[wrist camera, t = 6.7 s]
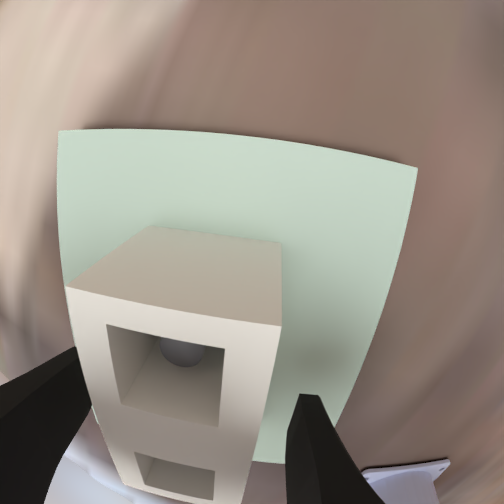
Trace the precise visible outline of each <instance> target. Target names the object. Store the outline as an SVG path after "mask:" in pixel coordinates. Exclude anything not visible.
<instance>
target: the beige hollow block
mask: <svg viewBox="0 0 504 504" xmlns="http://www.w3.org/2000/svg"><path fill="white" fill-rule="evenodd" d="M65 289H66V295H67V302H68V307H69V313H70V318H71V324H72V328H73V333H74V338H75V342H76V347H77V351H78V355H79V359H80V363H81V367H82V371H83V375H84V378H85V382H86V385H87V389H88V392H89V395H90V399H91V402H92V405H93V408H94V411H95V414H96V417H97V420H98V423H99V425H100V428H101V431H102V434H103V436H104V439H105V442H106V444H107V447H108V449H109V452H110V454H111V457H112V459H113V461H114V464H115V466H116V468H117V471H118V473H119V475H120V477H121V480H122V482H123V484H124V485H127V486H130V487H134V488H137V489H140V490H143V491H147V492H150V493H154V494H157V495H161V496H165V497H169V498H173V499H177V500H181V501H186V502H190V503H195V504H241V501H242V498H243V494H244V490H245V486H246V482H247V478H248V475H249V471H250V467H251V463H252V459H253V455H254V451H255V447H256V442H257V438H258V434H259V430H260V426H261V421H262V417H263V413H264V408H265V404H266V399H267V395H268V390H269V386H270V381H271V377H272V372H273V367H274V362H275V358H276V353H277V348H278V343H279V338H280V333H281V328H282V252H281V243H278V242H270V241H263V240H256V239H248V238H241V237H234V236H226V235H219V234H211V233H204V232H196V231H188V230H181V229H173V228H165V227H157V226H147V227H146V228H144V229H143V230H141V231H140V232H138V233H137V234H136V235H134V236H133V237H131V238H130V239H128V240H127V241H126V242H124V243H123V244H121V245H120V246H118V247H117V248H116V249H114V250H113V251H111V252H110V253H109V254H107V255H106V256H105V257H103V258H102V259H100V260H99V261H98V262H96V263H95V264H94V265H92V266H91V267H90V268H88V269H87V270H86V271H84V272H83V273H82V274H80V275H79V276H78V277H76V278H75V279H74V280H72V281H71V282H70V283H69V284H67V285H66V286H65ZM162 337H165V338H170V339H175V340H180V341H185V342H190V343H196V344H201V345H206V348H205V351H204V353H203V356H202V359H201V361H200V362H199V363H198V364H197V365H195V366H192V367H180V366H177V365H174V364H172V363H171V362H169V361H168V360H167V359H166V358H165V357H164V356H163V355H162V353H161V351H160V346H159V344H160V340H161V338H162Z"/></svg>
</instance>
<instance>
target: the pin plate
mask: <svg viewBox="0 0 504 504" xmlns="http://www.w3.org/2000/svg"><path fill="white" fill-rule="evenodd" d="M417 171H418V168H415V167H411V166H408V165H404V164H400V163H396V162H392V161H388V160H383V159H379V158H375V157H370V156H366V155H361V154H356V153H351V152H346V151H341V150H336V149H331V148H325V147H319V146H314V145H308V144H301V143H295V142H288V141H281V140H274V139H267V138H259V137H250V136H241V135H231V134H221V133H209V132H195V131H178V130H154V129H88V130H65V131H59V135H58V153H57V212H58V230H59V244H60V255H61V264H62V273H63V280H64V288H65V286H66V285H67V284H69V283H70V282H71V281H72V280H74V279H75V278H76V277H78V276H79V275H80V274H82V273H83V272H84V271H86V270H87V269H88V268H90V267H91V266H92V265H94V264H95V263H96V262H98V261H99V260H100V259H102V258H103V257H105V256H106V255H107V254H109V253H110V252H111V251H113V250H114V249H116V248H117V247H118V246H120V245H121V244H123V243H124V242H126V241H127V240H128V239H130V238H131V237H133V236H134V235H136V234H137V233H138V232H140V231H141V230H143V229H144V228H146V227H147V226H157V227H165V228H173V229H181V230H188V231H196V232H204V233H211V234H219V235H226V236H234V237H241V238H248V239H256V240H263V241H270V242H278V243H281V252H282V328H281V333H280V338H279V343H278V348H277V353H276V358H275V362H274V367H273V372H272V377H271V381H270V386H269V390H268V395H267V399H266V404H265V408H264V413H263V417H262V421H261V426H260V430H259V434H258V438H257V442H256V447H255V451H254V455H253V459H252V461H260V462H270V463H282V464H285V450H286V436H287V429H288V426H289V423H290V421H291V418H292V415H293V412H294V409H295V405H296V402H297V399H298V396H299V393H301V394H313V395H319V397H320V398H321V400H322V403H323V405H324V407H325V409H326V412H327V414H328V416H329V418H330V420H331V422H332V424H333V426H334V427H335V425H336V423H337V421H338V419H339V417H340V415H341V413H342V411H343V408H344V406H345V404H346V402H347V400H348V398H349V395H350V393H351V391H352V388H353V386H354V384H355V381H356V379H357V377H358V374H359V372H360V369H361V367H362V365H363V362H364V359H365V357H366V354H367V352H368V349H369V347H370V344H371V341H372V339H373V336H374V333H375V330H376V327H377V325H378V322H379V319H380V316H381V313H382V310H383V307H384V304H385V301H386V298H387V295H388V291H389V288H390V285H391V282H392V278H393V275H394V271H395V268H396V264H397V261H398V257H399V253H400V250H401V246H402V242H403V238H404V234H405V230H406V225H407V221H408V217H409V212H410V208H411V203H412V198H413V193H414V188H415V183H416V177H417ZM65 294H66V289H65ZM66 301H67V295H66ZM67 307H68V302H67ZM68 312H69V307H68ZM69 318H70V313H69ZM70 323H71V318H70ZM71 328H72V324H71ZM72 333H73V328H72ZM73 338H74V333H73ZM74 342H75V338H74ZM159 346H160V351H161V353H162V355H163V356H164V357H165V358H166V359H167V360H168V361H169V362H171V363H172V364H174V365H177V366H180V367H192V366H195V365H197V364H198V363H199V362H200V361H201V359H202V356H203V353H204V351H205V348H206V345H201V344H196V343H190V342H185V341H180V340H175V339H170V338H165V337H162V338H161V340H160V344H159ZM75 347H76V342H75ZM92 408H93V405H92ZM93 411H94V408H93ZM94 414H95V411H94ZM95 417H96V414H95ZM96 420H97V417H96ZM97 423H98V420H97ZM98 424H99V423H98Z"/></svg>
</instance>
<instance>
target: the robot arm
mask: <svg viewBox="0 0 504 504" xmlns="http://www.w3.org/2000/svg"><path fill="white" fill-rule="evenodd" d="M91 406H92V402H91V399H90V395H89V392H88V389H87V385H86V382H85V378H84V375H83V371H82V367H81V363H80V359H79V355H78V351H77V347H75V346H74V347H72V348H70V349H68V350H67V351H65V352H63V353H61V354H59V355H57V356H56V357H54V358H52V359H50V360H49V361H47V362H45V363H43V364H42V365H40V366H38V367H36V368H34V369H33V370H31V371H29V372H27V373H25V374H23V375H21V376H19V377H17V378H15V379H13V380H11V381H9V382H7V383H5V384H3V385H1V386H0V504H44V501H45V498H46V495H47V492H48V489H49V486H50V483H51V480H52V478H53V476H54V473H55V470H56V468H57V466H58V464H59V462H60V460H61V458H62V456H63V454H64V453H65V451H66V449H67V448H68V446H69V444H70V443H71V441H72V439H73V438H74V436H75V435H76V433H77V431H78V430H79V428H80V426H81V425H82V423H83V421H84V420H85V418H86V416H87V415H88V413H89V411H90V409H91ZM449 465H450V460H449V459H446V460H440V461H435V462H429V463H422V464H415V465H407V466H398V467H388V468H375V469H367V470H364V471H363V472H362V473H361V472H360V471H359V469H358V468H357V466H356V465H355V463H354V462H353V460H352V458H351V457H350V455H349V453H348V452H347V450H346V448H345V447H344V445H343V443H342V441H341V439H340V438H339V436H338V434H337V432H336V430H335V428H334V426H333V424H332V422H331V420H330V418H329V416H328V414H327V412H326V409H325V407H324V405H323V403H322V400H321V398H320V397H319V395H313V394H301V393H299V396H298V399H297V402H296V405H295V409H294V412H293V415H292V418H291V421H290V423H289V426H288V429H287V436H286V450H285V470H286V491H287V504H439V501H438V497H437V494H436V490H435V487H434V484H433V481H434V480H435V479H436V478H437V477H438V476H439V475H440V474H441V473H442V472H443V471H444V470H445V469H446V468H447V467H448V466H449Z"/></svg>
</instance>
